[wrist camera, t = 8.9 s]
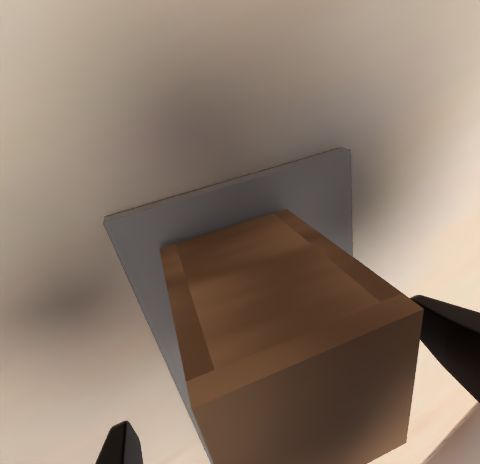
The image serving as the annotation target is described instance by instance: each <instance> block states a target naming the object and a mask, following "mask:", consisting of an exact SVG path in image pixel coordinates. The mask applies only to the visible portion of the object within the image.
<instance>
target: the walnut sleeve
mask: <svg viewBox="0 0 480 464" xmlns="http://www.w3.org/2000/svg"><path fill="white" fill-rule="evenodd" d="M159 250H160V255H161V260H162V265H163V270H164V275H165V280H166V285H167V290H168V295H169V300H170V305H171V310H172V315H173V320H174V325H175V330H176V335H177V340H178V345H179V350H180V355H181V360H182V365H183V370H184V375H185V380H186V385H187V390H188V395H189V400H190V405H191V410H192V412H193V414H194V417H195V419H196V422H197V424H198V427H199V429H200V432H201V434H202V437H203V439H204V441H205V444H206V446H207V449H208V451H209V454H210V456H211V459H212V461H213V463H214V464H367V463H369V462H371V461H373V460H375V459H376V458H378V457H380V456H382V455H384V454H386V453H388V452H390V451H391V450H393V449H395V448H397V447H399V446H401V445H403V444H405V443H406V439H407V431H408V424H409V416H410V409H411V402H412V394H413V387H414V379H415V372H416V364H417V357H418V349H419V342H420V334H421V327H422V319H423V312H424V309H423V308H422V307H421V306H419V305H418V304H416V303H415V302H414V301H412V300H411V299H410V298H408V297H407V296H406V295H404V294H403V293H401V292H400V291H399V290H397V289H396V288H395V287H393V286H392V285H390V284H389V283H388V282H386V281H385V280H384V279H382V278H381V277H380V276H378V275H377V274H375V273H374V272H373V271H371V270H370V269H369V268H367V267H366V266H364V265H363V264H362V263H360V262H359V261H358V260H356V259H355V258H354V257H352V256H351V255H349V254H348V253H347V252H345V251H344V250H343V249H341V248H340V247H338V246H337V245H336V244H334V243H333V242H332V241H330V240H329V239H328V238H326V237H325V236H323V235H322V234H321V233H319V232H318V231H317V230H315V229H314V228H312V227H311V226H310V225H308V224H307V223H306V222H304V221H303V220H302V219H300V218H299V217H297V216H296V215H295V214H293V213H292V212H291V211H289V210H288V209H285V210H282V211H278V212H275V213H272V214H269V215H266V216H262V217H259V218H256V219H253V220H249V221H246V222H243V223H240V224H237V225H233V226H230V227H227V228H224V229H220V230H217V231H214V232H211V233H208V234H204V235H201V236H198V237H195V238H192V239H188V240H185V241H182V242H179V243H175V244H172V245H169V246H166V247H163V248H159Z"/></svg>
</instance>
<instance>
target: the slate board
mask: <svg viewBox="0 0 480 464" xmlns="http://www.w3.org/2000/svg"><path fill="white" fill-rule="evenodd" d="M285 209H288V210H289V211H291V212H292V213H293V214H295V215H296V216H297V217H299V218H300V219H302V220H303V221H304V222H306V223H307V224H308V225H310V226H311V227H312V228H314V229H315V230H317V231H318V232H319V233H321V234H322V235H323V236H325V237H326V238H328V239H329V240H330V241H332V242H333V243H334V244H336V245H337V246H338V247H340V248H341V249H343V250H344V251H345V252H347V253H348V254H349V255H351V256H352V257H353V242H352V197H351V152H350V149H346V148H342V147H341V148H338V149H335V150H331V151H328V152H324V153H321V154H318V155H314V156H311V157H307V158H304V159H301V160H297V161H294V162H290V163H287V164H284V165H280V166H277V167H273V168H270V169H267V170H263V171H260V172H256V173H253V174H249V175H246V176H243V177H239V178H236V179H232V180H229V181H226V182H222V183H219V184H215V185H212V186H209V187H205V188H202V189H198V190H195V191H192V192H188V193H185V194H181V195H178V196H175V197H171V198H168V199H164V200H161V201H157V202H154V203H151V204H147V205H144V206H140V207H137V208H134V209H130V210H127V211H123V212H120V213H117V214H113V215H110V216H106V217H104V222H103V224H104V226H105V228H106V230H107V233H108V235H109V237H110V239H111V242H112V244H113V246H114V248H115V250H116V253H117V255H118V257H119V259H120V262H121V264H122V266H123V268H124V271H125V273H126V275H127V277H128V279H129V282H130V284H131V286H132V288H133V291H134V293H135V295H136V297H137V300H138V302H139V304H140V306H141V308H142V311H143V313H144V315H145V317H146V320H147V322H148V324H149V326H150V328H151V331H152V333H153V335H154V337H155V340H156V342H157V344H158V346H159V349H160V351H161V353H162V355H163V357H164V360H165V362H166V364H167V366H168V369H169V371H170V373H171V375H172V378H173V380H174V382H175V384H176V386H177V389H178V391H179V393H180V395H181V398H182V400H183V402H184V404H185V407H186V409H187V411H188V413H189V415H190V418H191V420H192V422H193V424H194V427H195V429H196V431H197V433H198V435H199V438H200V440H201V442H202V444H203V447H204V449H205V451H206V453H207V456H208V458H209V460H210V462H211V464H214V463H213V461H212V459H211V456H210V454H209V451H208V449H207V446H206V444H205V441H204V439H203V437H202V434H201V432H200V429H199V427H198V424H197V422H196V419H195V417H194V414H193V412H192V410H191V405H190V400H189V395H188V390H187V385H186V380H185V375H184V370H183V365H182V360H181V355H180V350H179V345H178V340H177V335H176V330H175V325H174V320H173V315H172V310H171V305H170V300H169V295H168V290H167V285H166V280H165V275H164V270H163V265H162V260H161V255H160V250H159V248H163V247H166V246H169V245H172V244H175V243H179V242H182V241H185V240H188V239H192V238H195V237H198V236H201V235H204V234H208V233H211V232H214V231H217V230H220V229H224V228H227V227H230V226H233V225H237V224H240V223H243V222H246V221H249V220H253V219H256V218H259V217H262V216H266V215H269V214H272V213H275V212H278V211H282V210H285Z"/></svg>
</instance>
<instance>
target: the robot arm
mask: <svg viewBox="0 0 480 464" xmlns="http://www.w3.org/2000/svg"><path fill="white" fill-rule="evenodd" d="M410 299H411V300H412V301H414V302H415V303H416V304H418V305H419V306H421V307H422V308H423V309H424V312H423V319H422V327H421V334H420V340H421V341H422V342H423V343H424V345H425V346H426V347H427V348H428V349H429V351H430V352H431V353H432V354H433V355H434V356H435V358H436V359H437V360H438V361H439V362H440V363H441V364H442V366H443V367H444V368H445V369H446V370H447V371H448V372H449V373H450V374H451V375H452V376H453V377H454V378H455V379H456V380H457V381H458V382H459V383H460V384H461V385H462V386H463V387H464V388H465V389H466V390H467V391H468V392H469V393H470V394H471V395H472V396H473V397H474V398H475V399H476V400H477V401H478V402H479V403H480V313H479V312H476V311H472V310H469V309H466V308H462V307H459V306H456V305H452V304H449V303H446V302H442V301H439V300H436V299H432V298H429V297H425V296H422V295H416V296H414V297H411V298H410ZM95 464H143V459H142V452H141V445H140V441H139V438H138V436H137V434H136V432H135V431H134V429H133V428H132V426H131V424H130V423H129V422H128V421H123V422H121V423H119V424H116V425H114V426H113V427H112V428H111V429H110V431H109V433H108V435H107V438H106V440H105V442H104V445H103V447H102V449H101V452H100V454H99V456H98V459H97V461H96V463H95Z"/></svg>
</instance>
